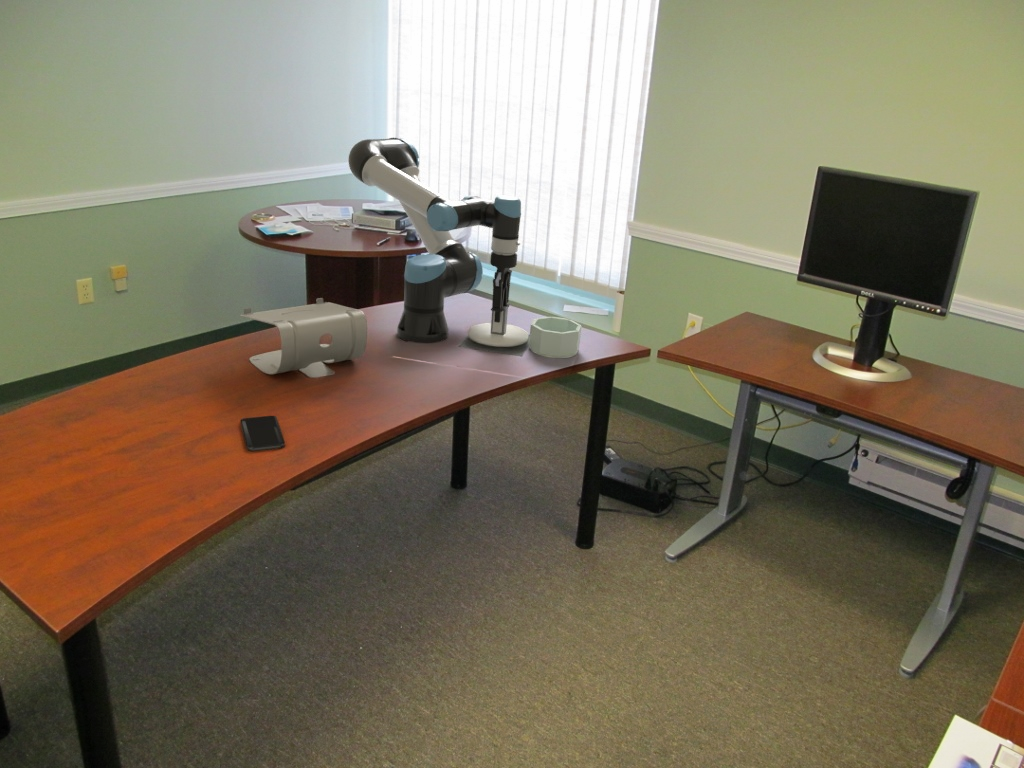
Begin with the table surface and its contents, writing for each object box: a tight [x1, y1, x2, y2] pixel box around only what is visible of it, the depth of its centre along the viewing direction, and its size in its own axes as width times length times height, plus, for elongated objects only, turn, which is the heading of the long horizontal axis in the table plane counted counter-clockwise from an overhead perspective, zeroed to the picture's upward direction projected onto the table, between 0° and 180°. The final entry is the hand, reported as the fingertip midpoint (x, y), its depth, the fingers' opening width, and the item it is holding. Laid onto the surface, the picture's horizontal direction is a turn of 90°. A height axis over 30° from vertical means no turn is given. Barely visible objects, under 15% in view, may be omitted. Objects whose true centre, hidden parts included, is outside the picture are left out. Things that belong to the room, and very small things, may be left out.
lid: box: [467, 306, 530, 347], centre depth 241 cm, size 18×18×10 cm
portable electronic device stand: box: [239, 297, 368, 379], centre depth 214 cm, size 26×24×16 cm
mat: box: [457, 334, 530, 357], centre depth 243 cm, size 19×19×1 cm
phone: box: [240, 415, 286, 453], centre depth 178 cm, size 8×1×15 cm
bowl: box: [528, 316, 582, 359], centre depth 239 cm, size 14×14×8 cm
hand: (498, 329), depth 242 cm, fingers closed on lid, 3 cm apart
